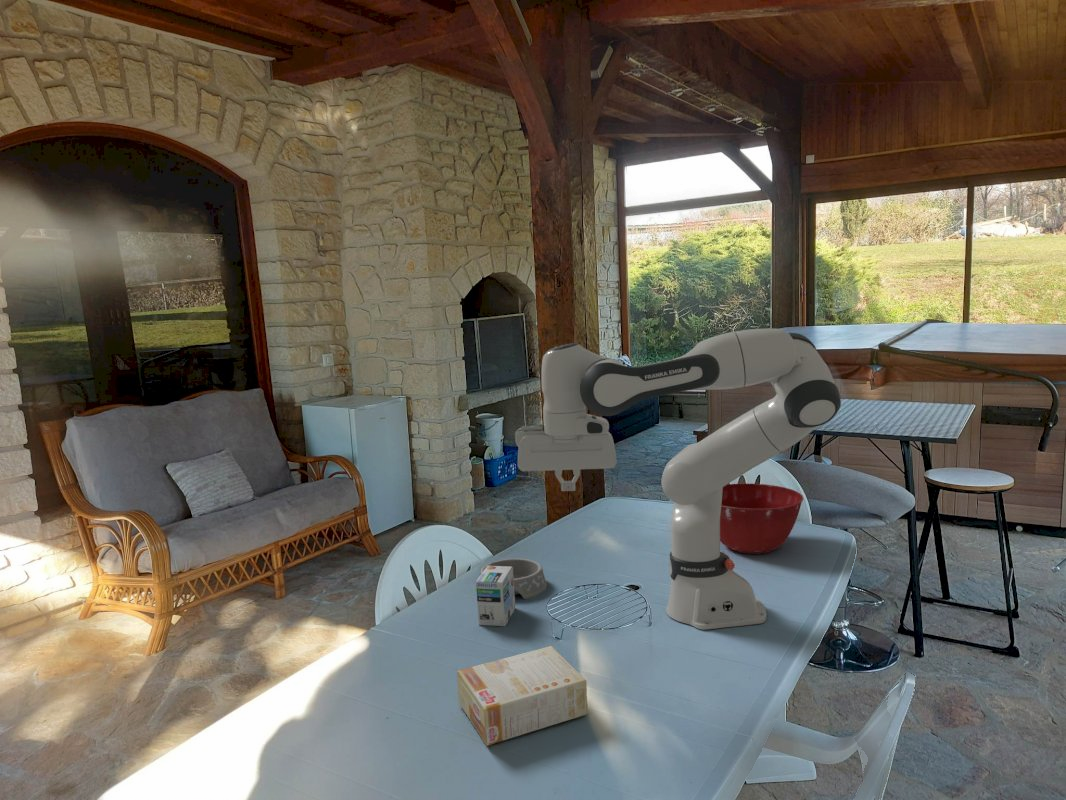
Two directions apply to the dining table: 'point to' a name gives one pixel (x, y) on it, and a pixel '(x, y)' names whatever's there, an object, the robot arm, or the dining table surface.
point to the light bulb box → (495, 595)
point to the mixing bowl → (757, 516)
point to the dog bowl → (524, 576)
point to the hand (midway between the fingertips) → (568, 490)
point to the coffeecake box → (521, 694)
